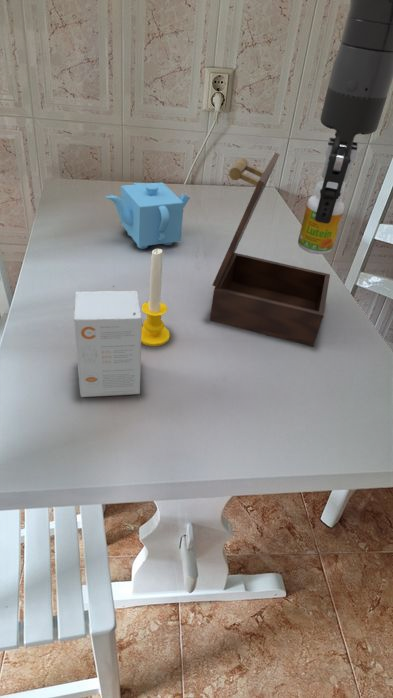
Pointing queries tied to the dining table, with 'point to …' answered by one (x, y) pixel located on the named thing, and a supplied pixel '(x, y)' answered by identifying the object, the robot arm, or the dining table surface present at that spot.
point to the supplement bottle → (320, 224)
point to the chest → (271, 299)
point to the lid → (260, 184)
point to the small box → (108, 342)
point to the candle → (154, 306)
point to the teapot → (150, 213)
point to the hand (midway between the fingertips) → (323, 213)
